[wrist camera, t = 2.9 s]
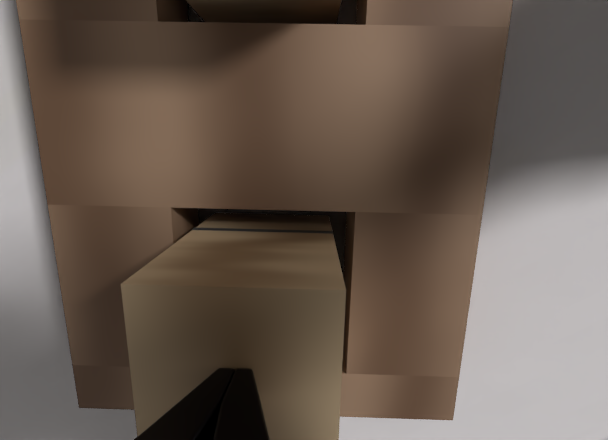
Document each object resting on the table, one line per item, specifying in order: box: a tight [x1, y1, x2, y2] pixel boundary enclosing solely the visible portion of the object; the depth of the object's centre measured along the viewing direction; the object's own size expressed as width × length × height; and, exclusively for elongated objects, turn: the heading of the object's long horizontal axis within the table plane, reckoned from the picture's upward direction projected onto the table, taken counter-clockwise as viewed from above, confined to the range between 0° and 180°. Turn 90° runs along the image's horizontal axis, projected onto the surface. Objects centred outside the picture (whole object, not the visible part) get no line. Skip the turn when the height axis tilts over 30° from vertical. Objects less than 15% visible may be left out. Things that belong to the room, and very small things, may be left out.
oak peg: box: [121, 212, 346, 440], centre depth 12 cm, size 5×5×8 cm
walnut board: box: [16, 0, 513, 420], centre depth 11 cm, size 16×24×8 cm, turn 179°
